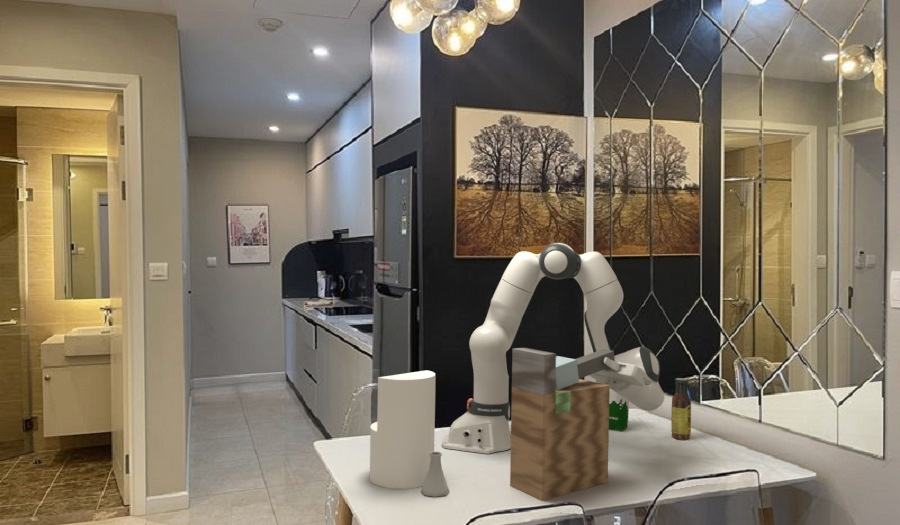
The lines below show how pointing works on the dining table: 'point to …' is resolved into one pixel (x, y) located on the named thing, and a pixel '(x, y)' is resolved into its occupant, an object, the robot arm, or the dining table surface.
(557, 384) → the mallet
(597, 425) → the wood grain block
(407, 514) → the dining table surface
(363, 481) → the dining table surface
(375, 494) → the dining table surface
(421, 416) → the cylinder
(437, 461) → the flask
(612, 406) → the milk carton
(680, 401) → the sauce bottle
